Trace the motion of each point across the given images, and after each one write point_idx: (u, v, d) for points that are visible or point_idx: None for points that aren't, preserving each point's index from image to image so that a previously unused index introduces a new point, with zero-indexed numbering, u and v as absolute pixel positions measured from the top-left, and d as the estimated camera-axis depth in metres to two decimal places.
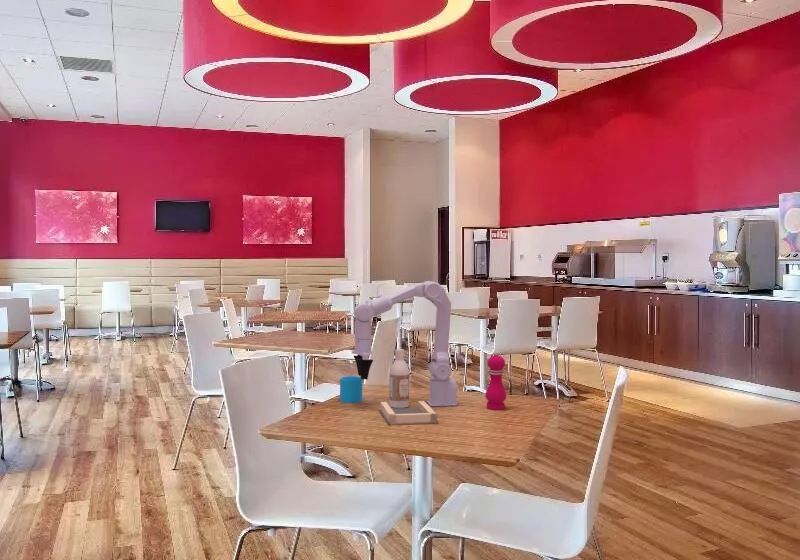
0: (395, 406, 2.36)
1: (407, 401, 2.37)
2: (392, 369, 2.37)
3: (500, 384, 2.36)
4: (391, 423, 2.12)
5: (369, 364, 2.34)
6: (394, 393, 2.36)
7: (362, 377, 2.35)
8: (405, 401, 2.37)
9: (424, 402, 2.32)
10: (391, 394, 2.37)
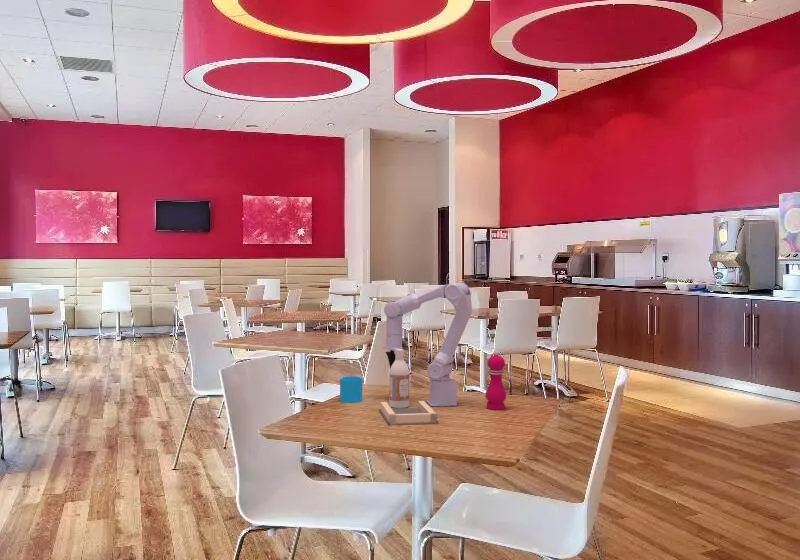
0: (395, 406, 2.36)
1: (407, 401, 2.37)
2: (392, 369, 2.37)
3: (500, 384, 2.36)
4: (391, 423, 2.12)
5: None
6: (394, 393, 2.36)
7: None
8: (405, 401, 2.37)
9: (424, 402, 2.32)
10: (391, 394, 2.37)
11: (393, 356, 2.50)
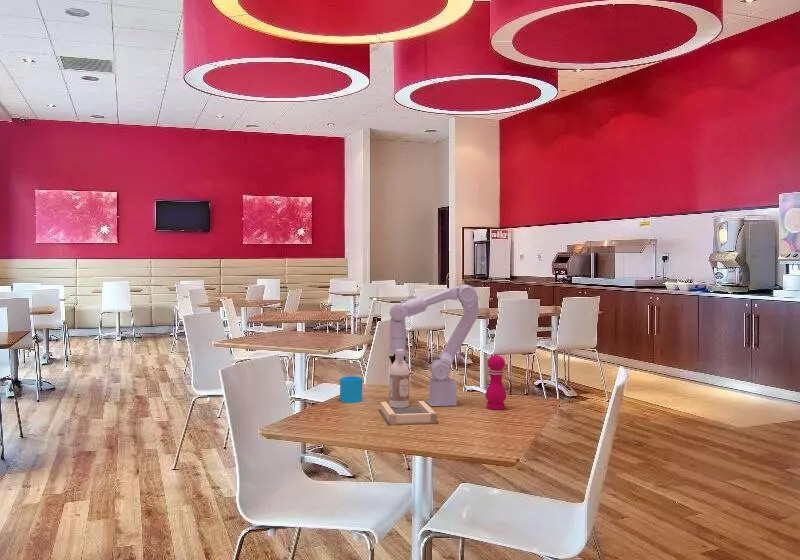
0: (395, 406, 2.36)
1: (407, 401, 2.37)
2: (392, 369, 2.37)
3: (500, 384, 2.36)
4: (391, 423, 2.12)
5: None
6: (394, 393, 2.36)
7: None
8: (405, 401, 2.37)
9: (424, 402, 2.32)
10: (391, 394, 2.37)
11: None
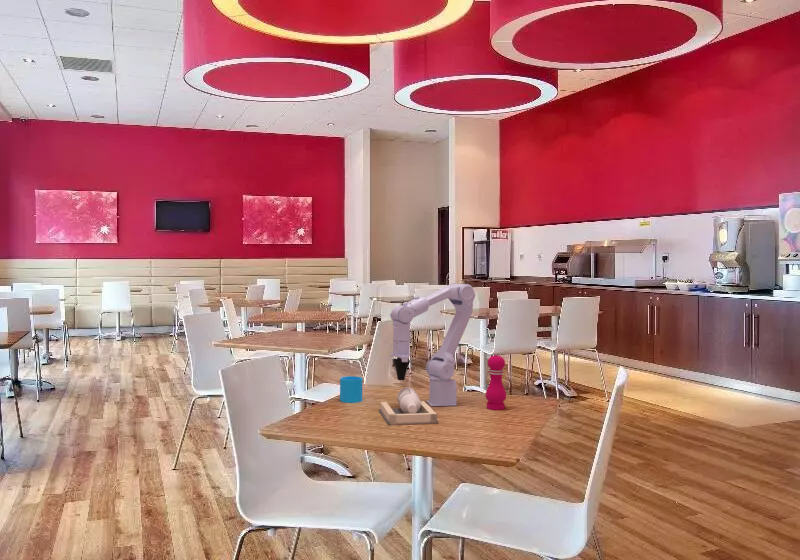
0: None
1: None
2: (401, 402, 2.22)
3: (500, 384, 2.36)
4: (391, 423, 2.12)
5: (406, 365, 2.34)
6: (398, 401, 2.30)
7: (399, 378, 2.35)
8: None
9: (424, 402, 2.32)
10: (398, 396, 2.31)
11: (400, 364, 2.35)
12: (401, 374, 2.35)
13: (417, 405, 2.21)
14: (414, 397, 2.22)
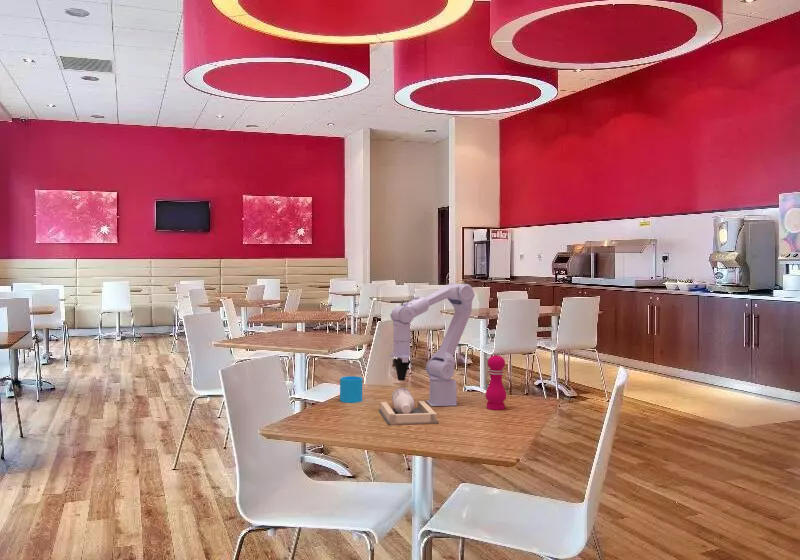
0: None
1: None
2: (395, 407, 2.22)
3: (500, 384, 2.36)
4: (391, 423, 2.12)
5: (407, 365, 2.33)
6: None
7: (399, 378, 2.34)
8: None
9: (424, 402, 2.32)
10: None
11: (401, 364, 2.34)
12: (401, 374, 2.34)
13: (409, 402, 2.20)
14: (403, 396, 2.22)
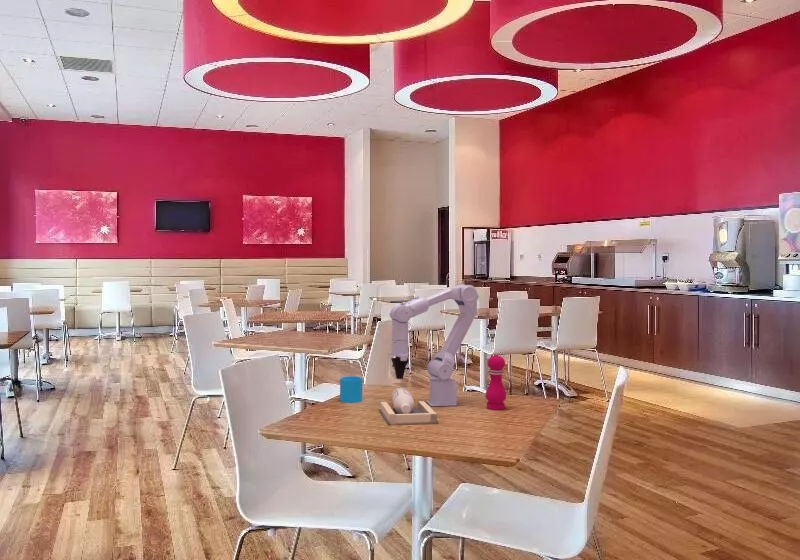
0: None
1: None
2: (395, 407, 2.22)
3: (500, 384, 2.36)
4: (391, 423, 2.12)
5: (405, 364, 2.37)
6: None
7: (398, 376, 2.38)
8: None
9: (424, 402, 2.32)
10: None
11: (399, 363, 2.38)
12: (400, 373, 2.38)
13: (409, 402, 2.20)
14: (403, 396, 2.22)
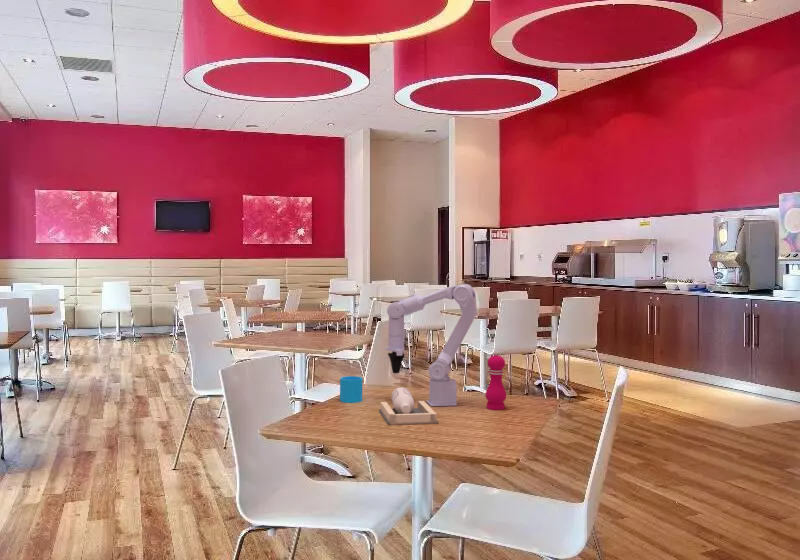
0: None
1: None
2: (395, 407, 2.22)
3: (500, 384, 2.36)
4: (391, 423, 2.12)
5: (401, 358, 2.45)
6: None
7: (394, 371, 2.46)
8: None
9: (424, 402, 2.32)
10: None
11: (395, 357, 2.46)
12: (396, 367, 2.46)
13: (409, 402, 2.20)
14: (403, 396, 2.22)
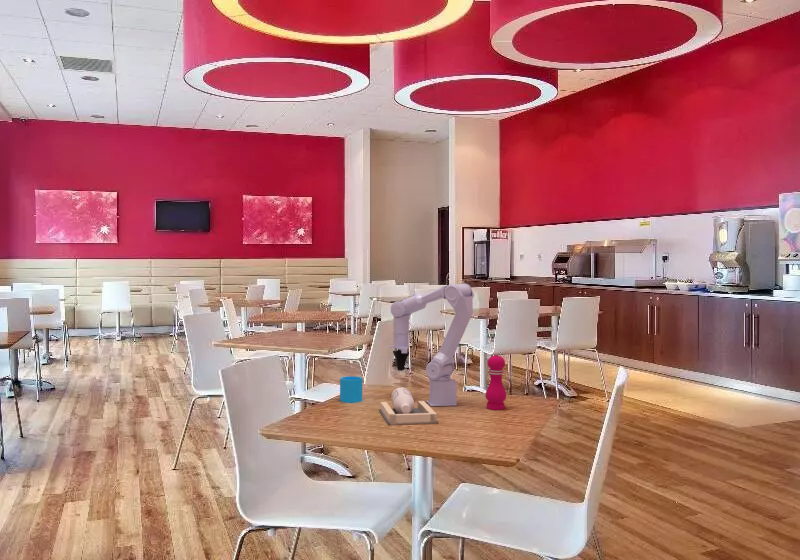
0: None
1: None
2: (395, 407, 2.22)
3: (500, 384, 2.36)
4: (391, 423, 2.12)
5: (406, 356, 2.51)
6: None
7: (399, 368, 2.52)
8: None
9: (424, 402, 2.32)
10: None
11: (400, 355, 2.52)
12: (401, 365, 2.52)
13: (409, 402, 2.20)
14: (403, 396, 2.22)
